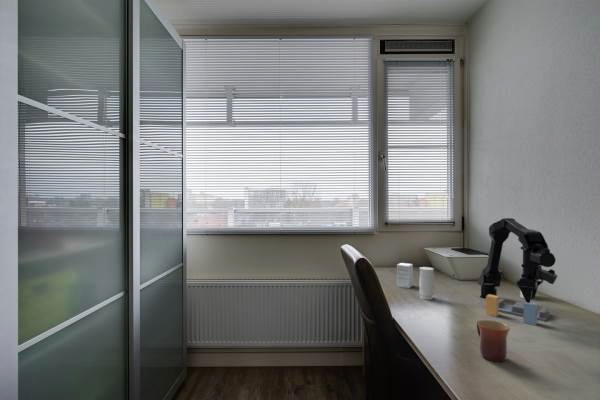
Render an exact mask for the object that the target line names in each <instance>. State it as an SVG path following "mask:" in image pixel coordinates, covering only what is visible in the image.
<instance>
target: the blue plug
mask: <svg viewBox="0 0 600 400" xmlns="http://www.w3.org/2000/svg"><path fill="white" fill-rule="evenodd" d="M523 303H524V317H523V323H524V324H527V325H532V326H536V325H537V324H538V321H539V320H538V311H539V310H538V309H539V307H538V305H539V304H538V302H533V301H530V303H527V302H526V301H525V302H523Z"/></svg>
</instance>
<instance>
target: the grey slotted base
mask: <svg viewBox="0 0 600 400" xmlns="http://www.w3.org/2000/svg"><path fill="white" fill-rule="evenodd" d="M524 303H525V302H521V301H517V302H515V304H507V303H505V298H499V313H504V314H508V315H513V316H517V317H522V318H524ZM550 316H551V312H549V307H547V306H543V307H542V309H540V310H538V321H540V322H547V320H548V319H549V318H550Z"/></svg>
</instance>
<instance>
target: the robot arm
mask: <svg viewBox="0 0 600 400" xmlns="http://www.w3.org/2000/svg"><path fill="white" fill-rule="evenodd" d="M511 233H512V234H514V235H515V236H516V237H518V239H517V240H518V241H519V243H520V244H521V245H522V246H520V247H519V249H520V250H522V264H521V268H522V273H521V276H520V277H519V278H518V279H517V280H516V286H517V287H518V289H519V291H520V290H521V292H522V294H523V296H524V298H525V299H524V298H523V299H524V301H525V302H527V303H530V302H531V300H532V299H535V298H536V296H535V295H537V291H538V288H539V286H540V285H541V284H543V283H544V281H545V282H547V283H548V284H550V285H554V284H555V282H556V280H557V278H558V275H557V274H556V271H555V270H554V269H552V268H551V267H553V266H554V265H555V264H556V257H555V255H554V254H553V253H552V252H551V249H550V248H549V244H548V243H547V242H546V239H545V237H544V235H543V234H542V232H540V231H538V230H535V229H529V228H527V227H526V226H524V225H522V224H521V223H519V222H518V221H516V219H515V218H512V217H510V218H509V217H508V218H507V217H504V218H502V219H500V220H498V221H495V222H493V223H492V224H490V226H489V227H488V234H489V237H490V239H491V243H490V248H489V249H490V250H489V253H488V254H489V255H488V259H487V263H486V264H487V265H486V266H485V267H484V268H483V269H482V271H481V274H480V275H479V277H478V279H477V284H478V285H479V286H480V296H479V298H483V299H486V296H487V295H489V294H490V295H496V296H498V289H497V287H499V288H500V285H501V281H502V275H503V274H502V273H501V272H500V271H499V270H500V269H499V267H500V266H499V265H500V261H501V255H502V251H503V246H504V245H503V244H504V243H505V242H506V240H508V239H509V236H510V234H511ZM542 267H545V268H551V269H548V270H547V269H543V268H542Z"/></svg>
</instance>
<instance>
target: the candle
mask: <svg viewBox="0 0 600 400" xmlns="http://www.w3.org/2000/svg"><path fill="white" fill-rule="evenodd" d="M434 269H435V268H433V267H428V266H422V267H421V266H420V267H419V278H418V279H419V280H418V281H419V283H418V284H419V285H418V287H419V291H418V292H419V295H420V296H419V298H420V299H422V300H429V301H430V300H433V296H434V280H435V279H434Z"/></svg>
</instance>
